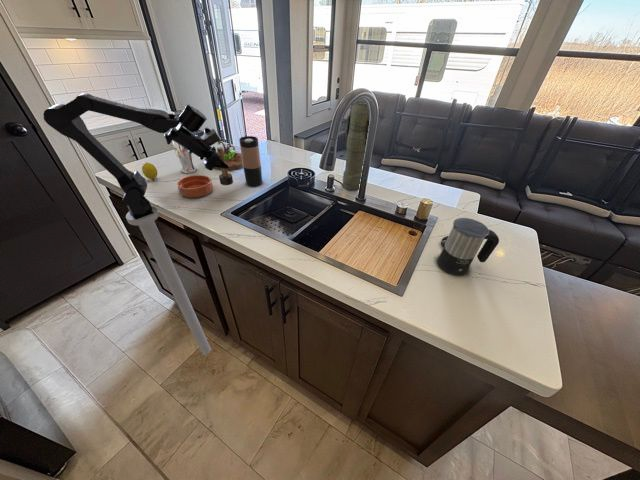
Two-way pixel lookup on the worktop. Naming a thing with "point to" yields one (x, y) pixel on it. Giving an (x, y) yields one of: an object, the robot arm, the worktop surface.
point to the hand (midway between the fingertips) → (227, 166)
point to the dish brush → (224, 170)
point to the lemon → (149, 170)
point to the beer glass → (184, 158)
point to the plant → (231, 157)
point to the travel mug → (251, 160)
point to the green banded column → (355, 145)
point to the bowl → (195, 186)
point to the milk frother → (466, 245)
